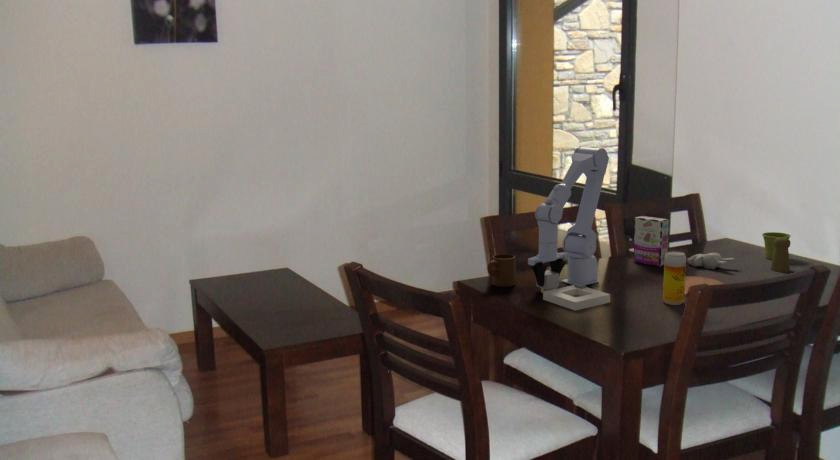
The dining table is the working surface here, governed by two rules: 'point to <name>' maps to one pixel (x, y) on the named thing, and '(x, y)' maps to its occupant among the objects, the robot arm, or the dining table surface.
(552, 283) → the plug
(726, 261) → the bunny figurine
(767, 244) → the plant pot
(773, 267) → the olive tall rounded piece
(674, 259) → the yellow supplement bottle
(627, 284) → the dining table surface
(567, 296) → the socket
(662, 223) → the candy bar box
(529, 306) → the dining table surface
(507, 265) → the mug
